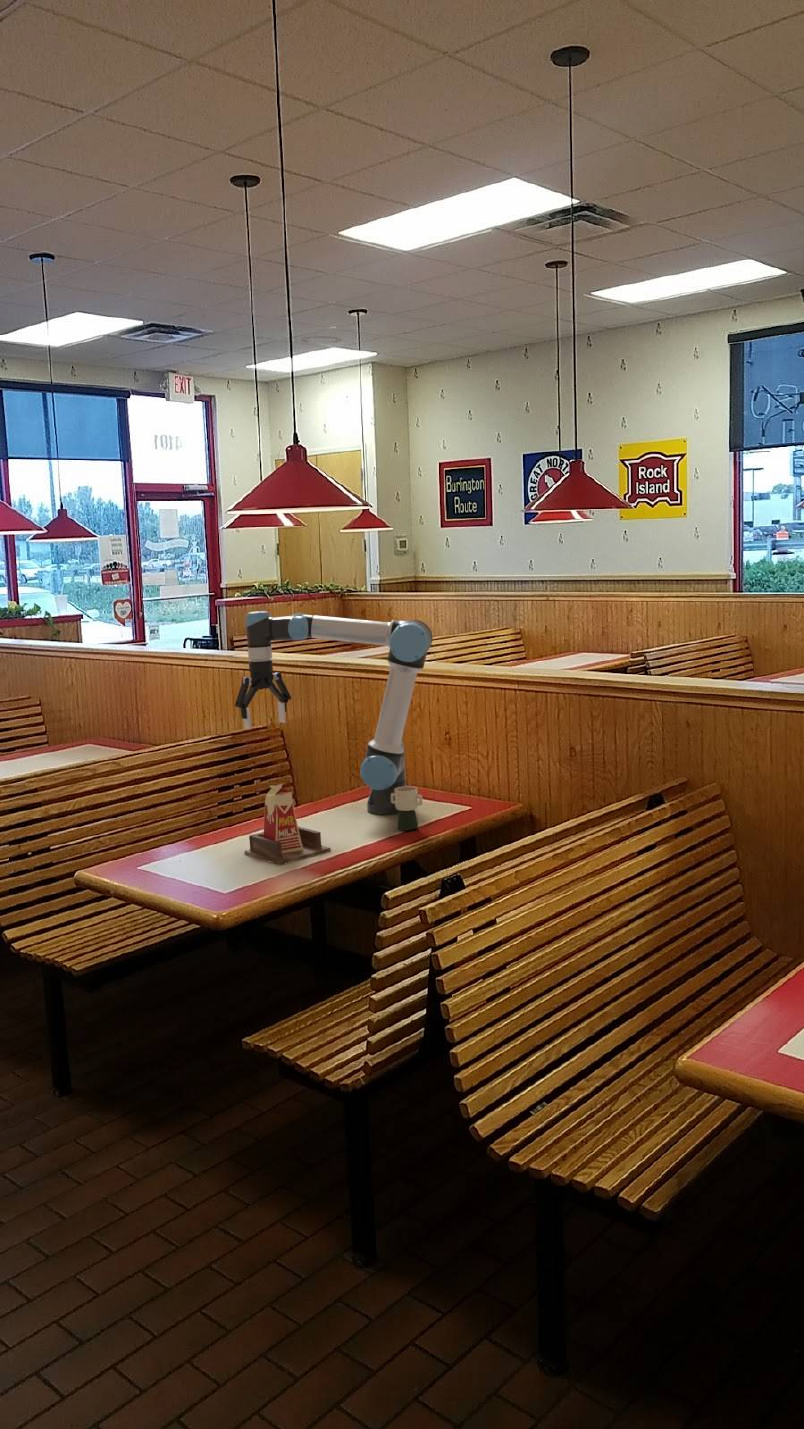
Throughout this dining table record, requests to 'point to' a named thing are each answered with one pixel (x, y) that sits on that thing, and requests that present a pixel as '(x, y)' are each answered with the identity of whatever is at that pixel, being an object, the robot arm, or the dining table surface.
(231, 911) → the dining table surface
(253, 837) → the carton bracket
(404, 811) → the character mug
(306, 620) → the robot arm
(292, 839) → the milk carton
